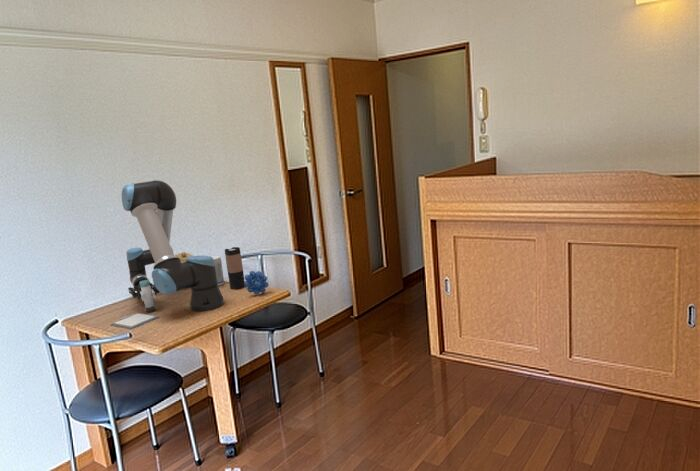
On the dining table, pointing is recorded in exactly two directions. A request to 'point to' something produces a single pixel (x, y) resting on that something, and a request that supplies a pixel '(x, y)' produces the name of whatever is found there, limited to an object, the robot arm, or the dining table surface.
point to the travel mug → (234, 268)
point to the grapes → (256, 282)
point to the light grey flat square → (134, 320)
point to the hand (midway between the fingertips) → (148, 296)
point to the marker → (147, 295)
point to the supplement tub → (218, 270)
